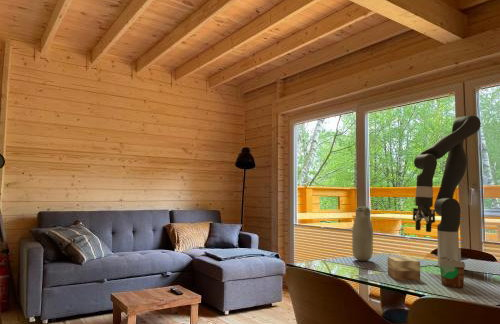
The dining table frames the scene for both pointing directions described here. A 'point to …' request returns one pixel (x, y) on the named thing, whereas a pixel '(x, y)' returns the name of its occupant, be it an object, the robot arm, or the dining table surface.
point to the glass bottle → (362, 235)
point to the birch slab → (403, 264)
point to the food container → (451, 272)
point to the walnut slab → (404, 275)
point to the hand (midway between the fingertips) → (423, 231)
